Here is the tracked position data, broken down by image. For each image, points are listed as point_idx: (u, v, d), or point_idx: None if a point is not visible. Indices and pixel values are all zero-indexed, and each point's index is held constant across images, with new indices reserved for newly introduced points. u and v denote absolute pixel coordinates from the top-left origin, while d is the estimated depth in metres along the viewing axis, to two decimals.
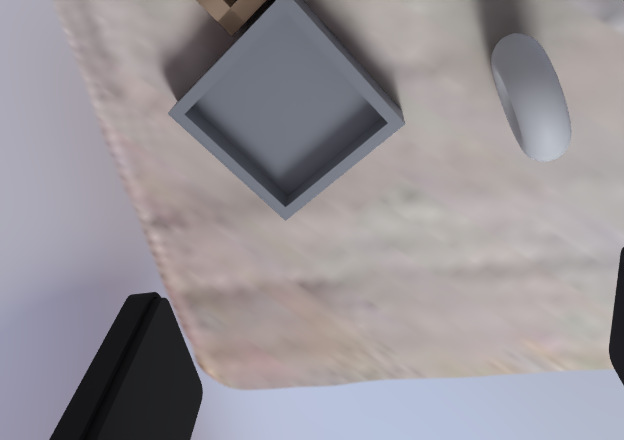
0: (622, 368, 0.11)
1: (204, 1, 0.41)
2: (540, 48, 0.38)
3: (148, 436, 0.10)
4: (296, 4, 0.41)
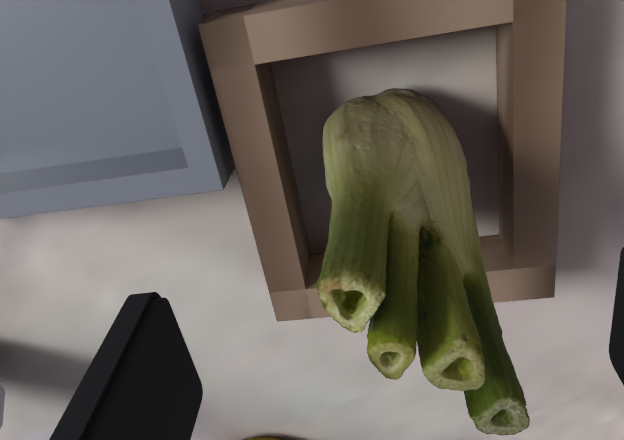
0: (622, 368, 0.11)
1: (298, 19, 0.17)
2: None
3: (148, 436, 0.10)
4: (189, 192, 0.19)
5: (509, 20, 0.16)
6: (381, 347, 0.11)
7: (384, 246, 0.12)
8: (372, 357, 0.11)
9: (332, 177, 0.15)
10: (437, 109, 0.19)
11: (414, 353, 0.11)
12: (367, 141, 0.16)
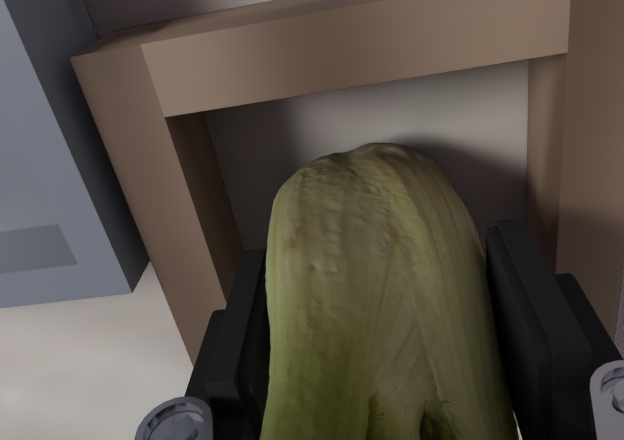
0: None
1: (227, 50, 0.11)
2: None
3: None
4: (84, 296, 0.13)
5: (561, 50, 0.10)
6: None
7: None
8: None
9: (272, 327, 0.09)
10: (440, 174, 0.13)
11: None
12: (333, 253, 0.10)
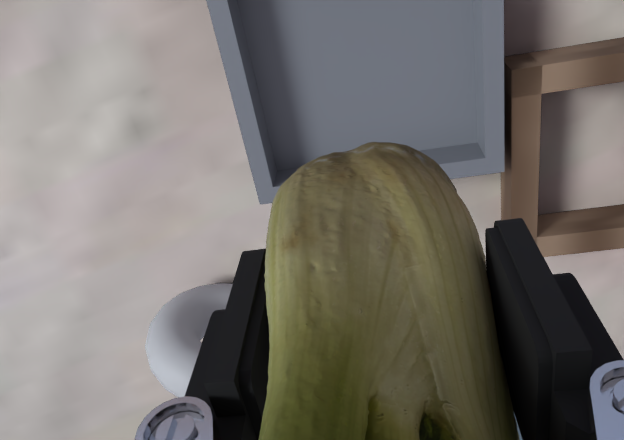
0: None
1: (576, 67, 0.28)
2: None
3: None
4: (481, 173, 0.30)
5: None
6: None
7: None
8: None
9: (271, 327, 0.09)
10: (440, 173, 0.13)
11: None
12: (332, 253, 0.10)
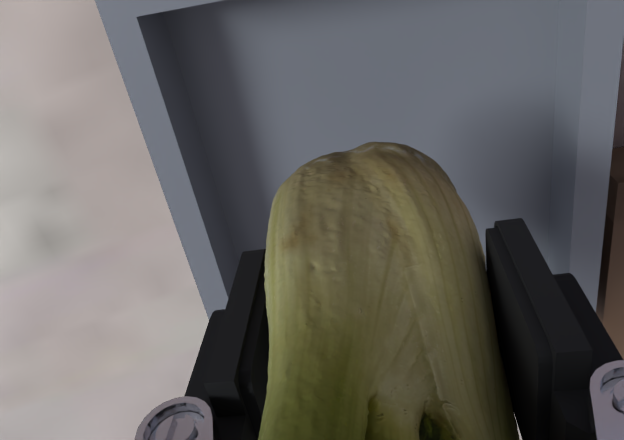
0: None
1: None
2: None
3: None
4: None
5: None
6: None
7: None
8: None
9: (271, 327, 0.09)
10: (440, 173, 0.13)
11: None
12: (332, 252, 0.10)
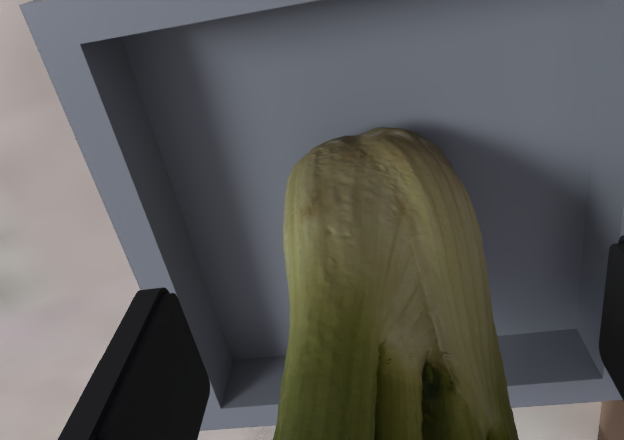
0: (611, 364, 0.11)
1: None
2: None
3: (158, 430, 0.10)
4: (591, 400, 0.17)
5: None
6: None
7: None
8: None
9: (292, 282, 0.10)
10: (442, 157, 0.14)
11: None
12: (346, 220, 0.11)
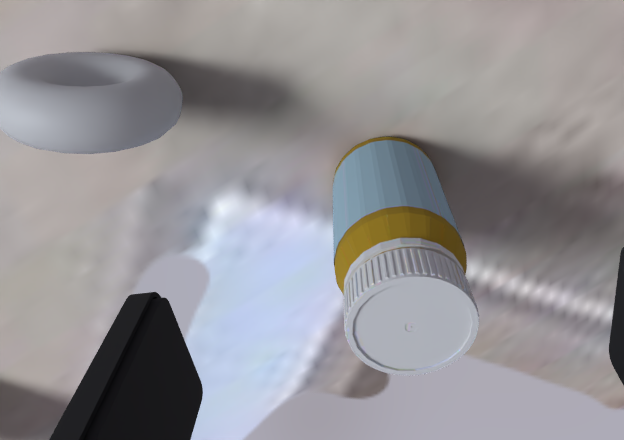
0: (622, 368, 0.11)
1: None
2: (155, 139, 0.29)
3: (148, 436, 0.10)
4: None
5: None
6: None
7: None
8: None
9: None
10: None
11: None
12: None
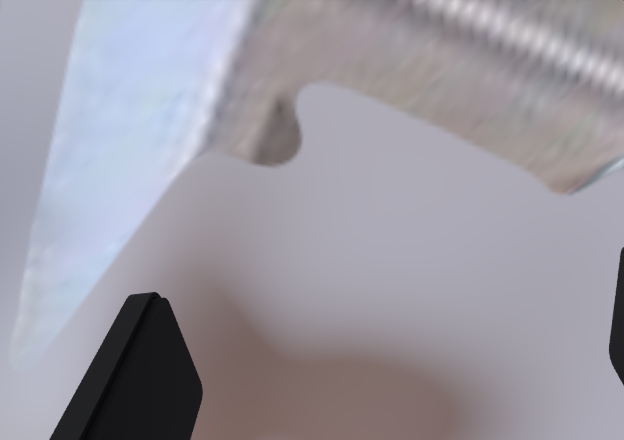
0: (622, 368, 0.11)
1: None
2: None
3: (148, 436, 0.10)
4: None
5: None
6: None
7: None
8: None
9: None
10: None
11: None
12: None
